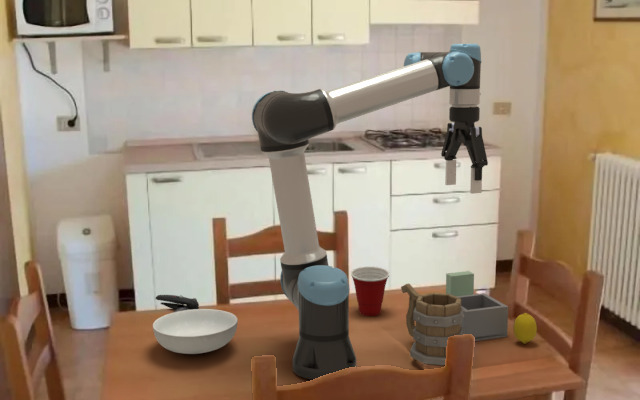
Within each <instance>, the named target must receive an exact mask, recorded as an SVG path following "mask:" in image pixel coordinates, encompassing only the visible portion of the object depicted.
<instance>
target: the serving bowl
mask: <svg viewBox="0 0 640 400" xmlns="http://www.w3.org/2000/svg"><path fill="white" fill-rule="evenodd" d="M173 312H174V311H173ZM173 312H171V313H167V314H165V315H161V316H160V317H159V318H157V319H155V320H154V321H153V323H152V330H153V334H154V337H155V339H156V341H157V342H158V344H159V345H160V346H161V347H163V348H165V350H168V351H170V352H173V353H178V354H185V355H198V354H203V353H209V352H213V351H215V350H218V349H221V348H223V347H224V346H226V345H227V344H228V343H230V341H232V340H233V337H234V336H235V334H236V332H237V329H238V323H239V322H238V321H239V320H238V317H237V316H236V315H235V314H234V313H232V312H230V311H225V310H220V309H213V308H199V309H193V310H184V311H178V312H174V313H173Z"/></svg>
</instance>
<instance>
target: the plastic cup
mask: <svg viewBox="0 0 640 400" xmlns="http://www.w3.org/2000/svg"><path fill="white" fill-rule="evenodd" d="M350 276H351V277H352V282H353V285H354V289H355V295H356V302H357V305H358V310H359V311H358V312H359V314H360V315H361V316H363V317H364V316H365V317H374V316H378V315H380V314H381V312H382V306H383V305H382V304H383V302H384V295H385V289H386V285H387V281H388V279H389V277H390V271H389V270H387V269H385V268H382V267H378V266H360V267H357V268H354V269H352V270H351V271H350Z"/></svg>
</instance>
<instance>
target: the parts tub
mask: <svg viewBox="0 0 640 400" xmlns="http://www.w3.org/2000/svg"><path fill="white" fill-rule="evenodd" d="M456 297H458V298H460V299H461V307H462V308H463V309H464V310H463V315H464V317H463V320H462V323H461V327H462V328H463V334H472V335H473V336H474V337H475V341H474V342H477V341H478V342H479V341H487V340H492V339H499V338H500V339H501V338H508V329H509V328H508V327H509V326H508V325H509V324H508V323H509V321H508V320H509V318H508V317H509V306H508V305H506V304H505V303H503V302H501V301H499V300H497V299H496V298H494V297H492V296H490V295H488V294H487V293H485V292H482V293H474V294H472V295H464V296H456Z"/></svg>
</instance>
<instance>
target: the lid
mask: <svg viewBox="0 0 640 400" xmlns="http://www.w3.org/2000/svg"><path fill="white" fill-rule="evenodd" d="M474 281H475V273H473V272H471V271H470V270H466V271H457V272H449V273H447V272H446V273H445V294H451V295H454V296H464V295H472V294H475V293H474V292H475V291H474V287H475V285H474V284H475V283H474Z"/></svg>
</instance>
